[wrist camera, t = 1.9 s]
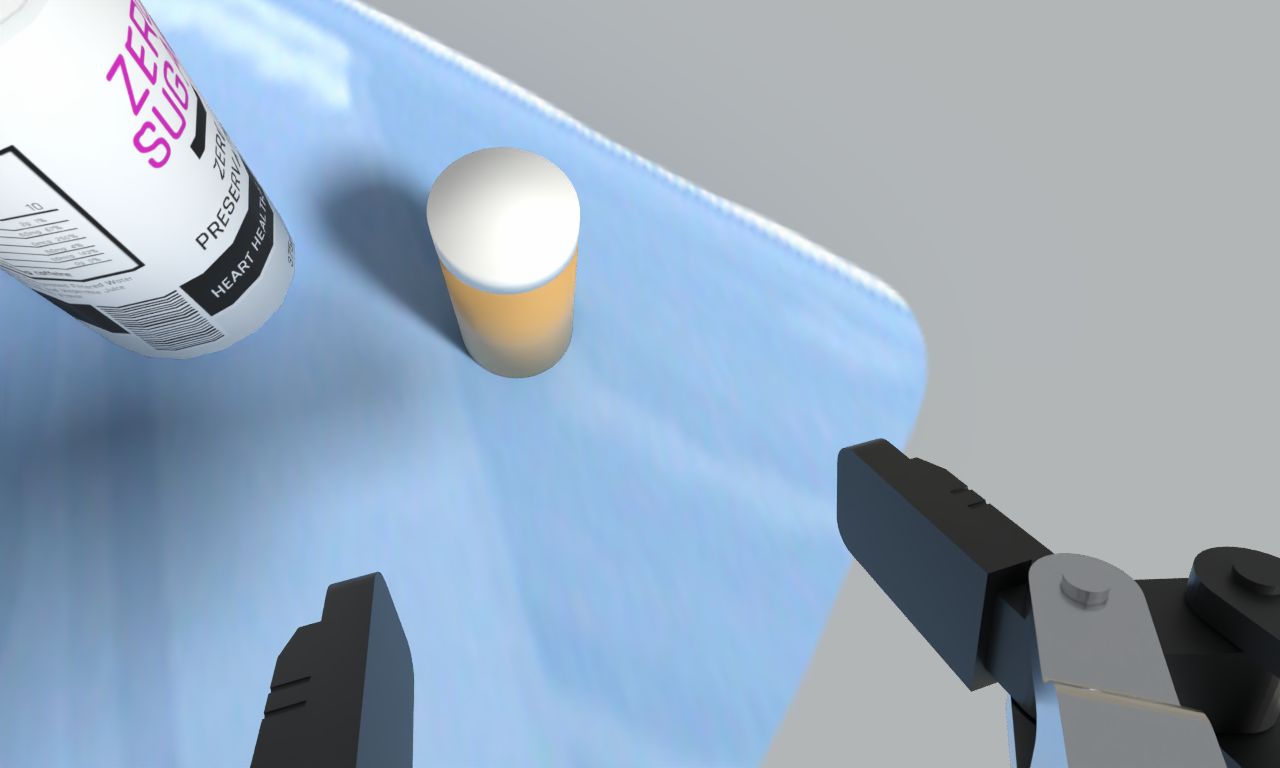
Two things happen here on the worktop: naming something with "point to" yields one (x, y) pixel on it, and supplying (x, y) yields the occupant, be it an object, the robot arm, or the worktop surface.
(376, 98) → the worktop surface
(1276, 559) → the robot arm
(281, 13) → the worktop surface
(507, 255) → the pill bottle
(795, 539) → the worktop surface
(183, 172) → the supplement can
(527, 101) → the worktop surface
